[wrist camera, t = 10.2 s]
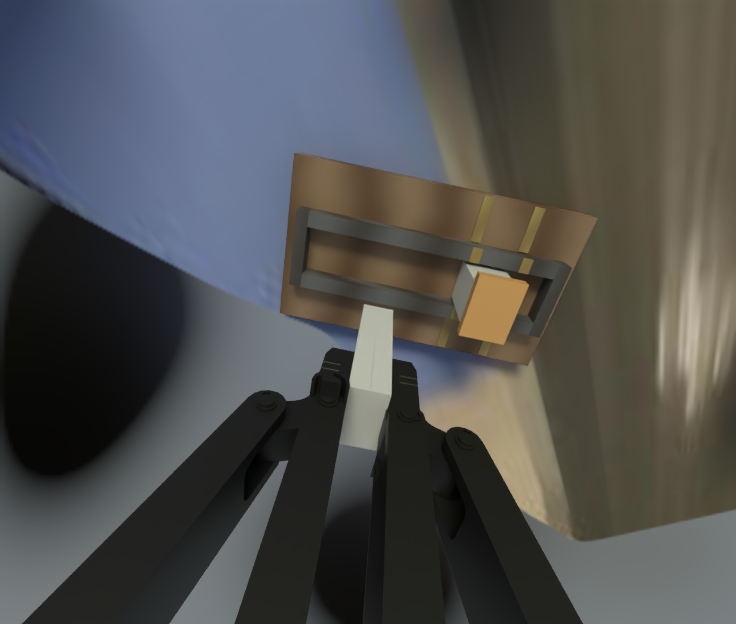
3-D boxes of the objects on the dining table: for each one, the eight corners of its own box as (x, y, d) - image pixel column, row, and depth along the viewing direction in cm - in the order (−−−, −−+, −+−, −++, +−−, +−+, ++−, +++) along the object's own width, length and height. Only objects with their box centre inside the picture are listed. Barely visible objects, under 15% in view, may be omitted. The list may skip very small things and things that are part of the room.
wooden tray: (286, 304, 35) (273, 320, 32) (300, 153, 29) (287, 154, 26) (521, 354, 35) (533, 376, 32) (585, 213, 29) (609, 222, 26)
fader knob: (449, 303, 31) (458, 335, 26) (465, 251, 29) (479, 274, 24) (486, 311, 31) (503, 345, 26) (506, 260, 29) (529, 285, 24)
